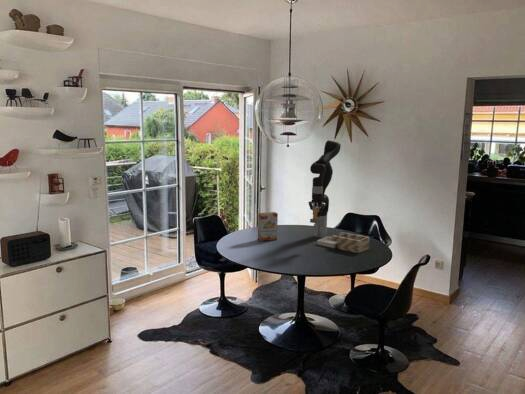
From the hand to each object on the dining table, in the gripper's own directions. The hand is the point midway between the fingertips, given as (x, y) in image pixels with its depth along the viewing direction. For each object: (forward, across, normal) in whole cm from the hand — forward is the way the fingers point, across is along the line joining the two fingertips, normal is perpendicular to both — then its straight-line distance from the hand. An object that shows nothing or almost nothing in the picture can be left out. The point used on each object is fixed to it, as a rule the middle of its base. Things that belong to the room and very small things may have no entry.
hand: (316, 216), depth 317 cm
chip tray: (+23, +3, +16) cm, 28 cm away
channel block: (+23, +18, +17) cm, 34 cm away
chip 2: (+15, +19, +17) cm, 29 cm away
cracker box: (+23, -40, -6) cm, 46 cm away
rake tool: (+4, 0, -1) cm, 4 cm away
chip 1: (+15, +12, +17) cm, 25 cm away
